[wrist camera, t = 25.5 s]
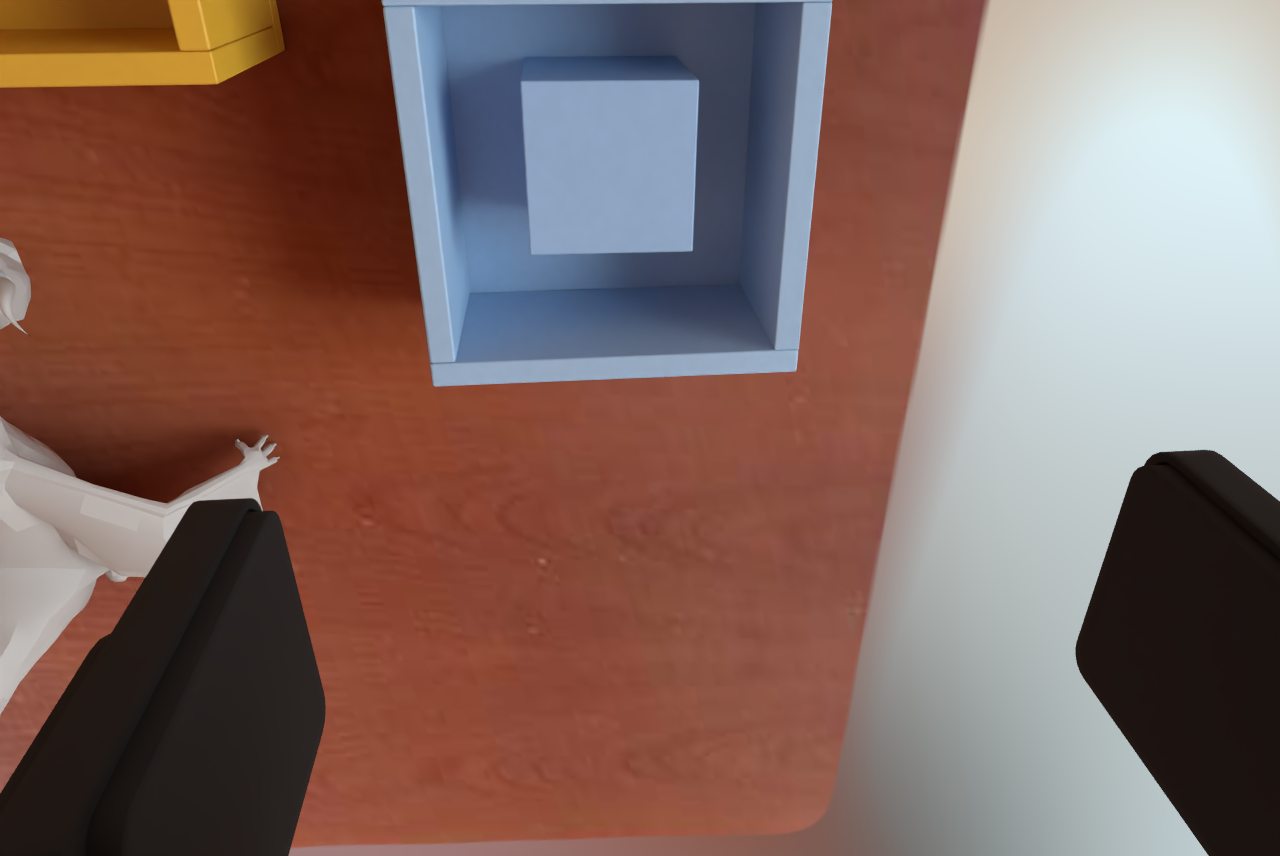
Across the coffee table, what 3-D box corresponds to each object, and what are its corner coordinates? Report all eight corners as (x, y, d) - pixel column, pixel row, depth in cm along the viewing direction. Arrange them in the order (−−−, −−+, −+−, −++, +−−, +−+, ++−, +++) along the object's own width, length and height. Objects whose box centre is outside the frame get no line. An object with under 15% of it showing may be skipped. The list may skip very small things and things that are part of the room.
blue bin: (413, -41, 28) (377, -30, 22) (777, -43, 29) (836, -33, 23) (452, 305, 34) (432, 387, 28) (754, 295, 34) (796, 372, 29)
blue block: (524, 56, 29) (519, 80, 24) (677, 55, 29) (699, 79, 25) (532, 209, 31) (529, 255, 27) (673, 206, 32) (693, 252, 27)
